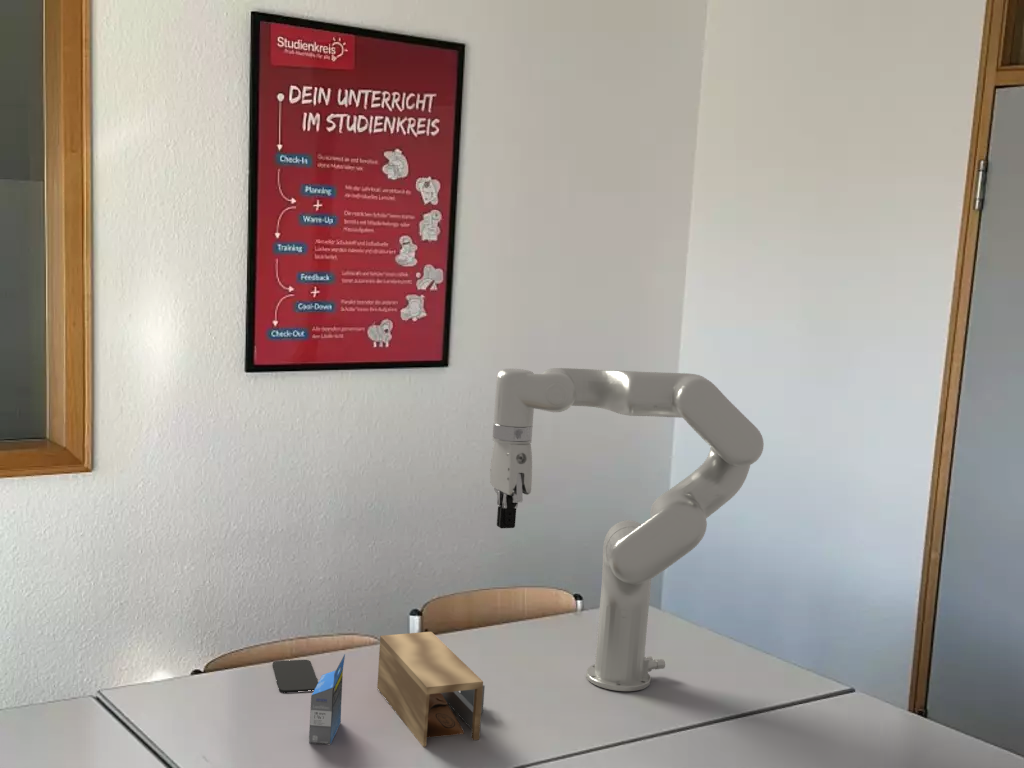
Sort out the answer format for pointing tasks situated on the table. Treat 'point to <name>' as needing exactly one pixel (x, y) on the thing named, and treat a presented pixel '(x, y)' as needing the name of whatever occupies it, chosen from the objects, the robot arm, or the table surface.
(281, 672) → the phone
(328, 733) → the blue cardboard box
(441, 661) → the oak counter
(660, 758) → the table surface
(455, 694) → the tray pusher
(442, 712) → the sunglasses case
